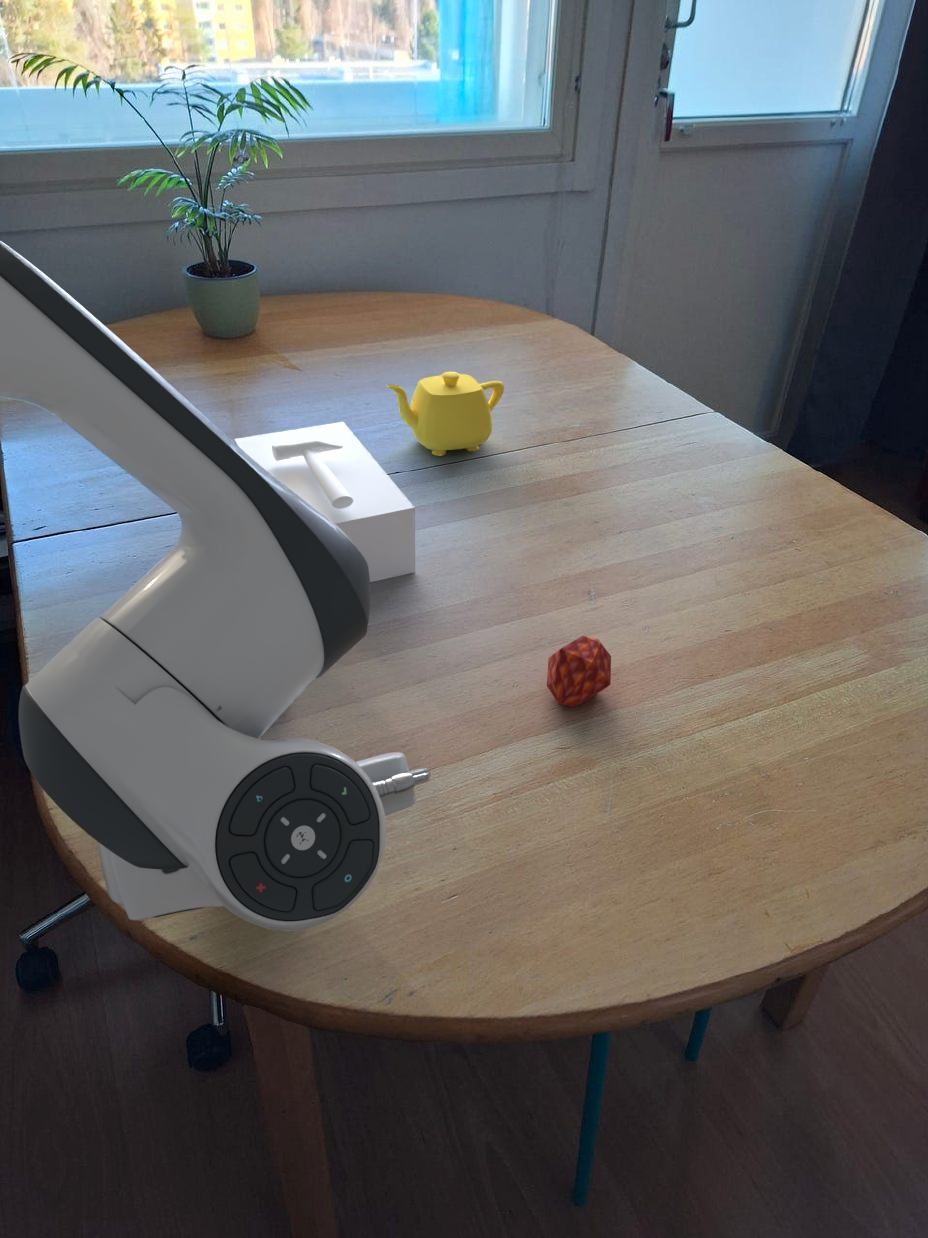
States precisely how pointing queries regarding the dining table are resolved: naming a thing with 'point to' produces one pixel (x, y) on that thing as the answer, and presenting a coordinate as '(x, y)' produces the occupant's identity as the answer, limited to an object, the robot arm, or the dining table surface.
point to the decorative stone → (579, 671)
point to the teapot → (449, 411)
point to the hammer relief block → (343, 490)
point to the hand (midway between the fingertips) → (255, 813)
